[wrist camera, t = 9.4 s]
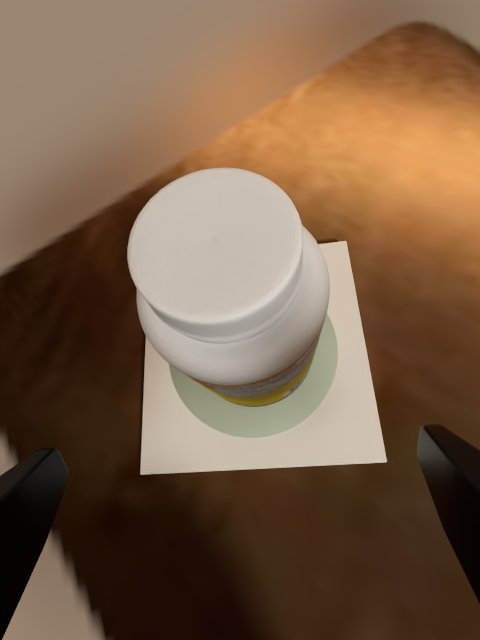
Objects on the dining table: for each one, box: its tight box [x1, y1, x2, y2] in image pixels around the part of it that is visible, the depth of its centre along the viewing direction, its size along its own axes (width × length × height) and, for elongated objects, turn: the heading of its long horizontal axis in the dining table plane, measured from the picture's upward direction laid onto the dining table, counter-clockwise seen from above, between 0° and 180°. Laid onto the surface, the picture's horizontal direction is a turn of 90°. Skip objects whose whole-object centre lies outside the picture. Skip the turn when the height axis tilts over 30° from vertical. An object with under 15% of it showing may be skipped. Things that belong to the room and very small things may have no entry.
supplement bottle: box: [127, 168, 330, 407], centre depth 12 cm, size 6×6×10 cm
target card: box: [140, 241, 387, 475], centre depth 17 cm, size 11×11×1 cm
